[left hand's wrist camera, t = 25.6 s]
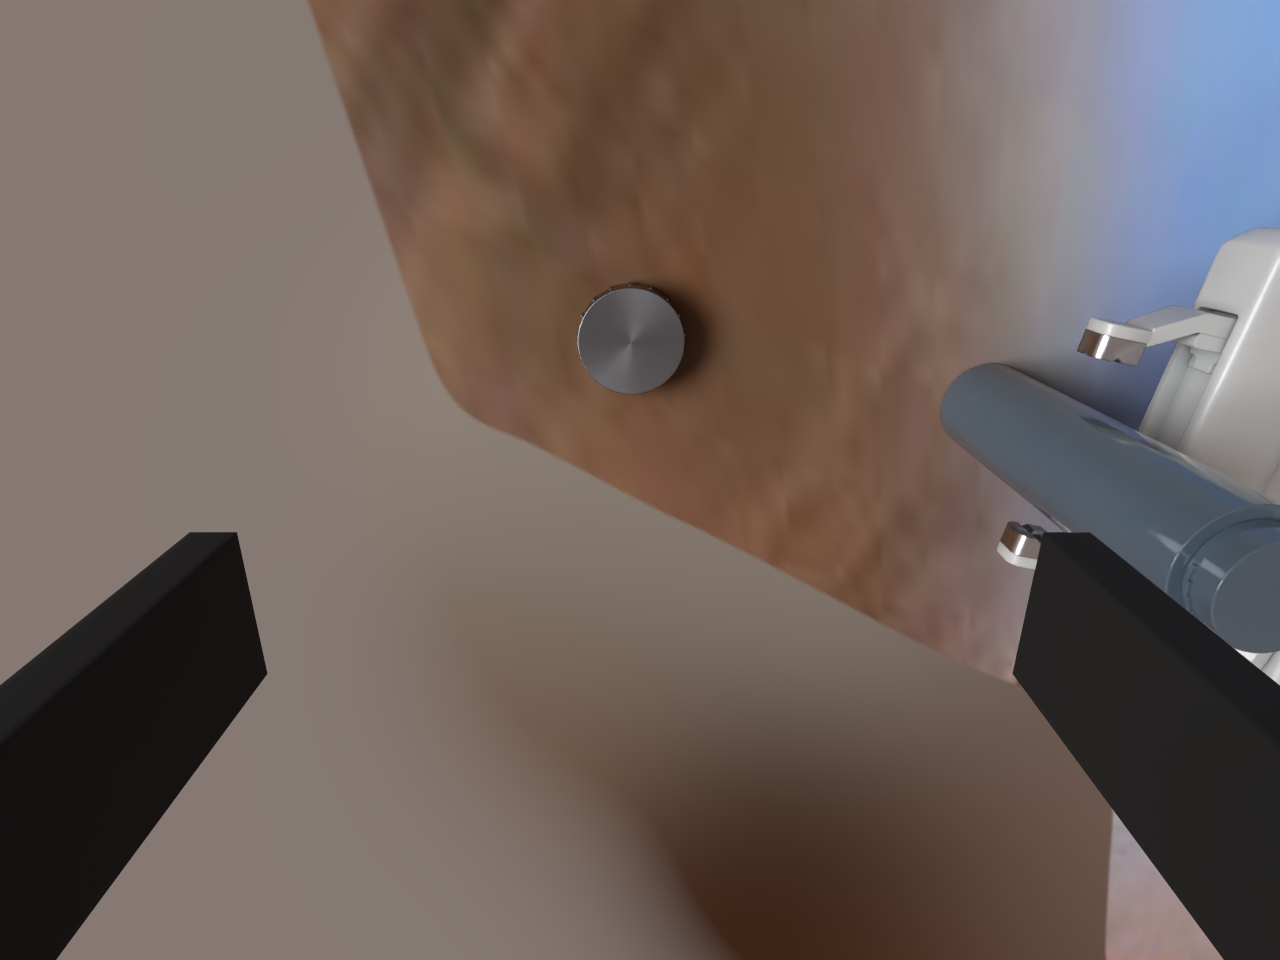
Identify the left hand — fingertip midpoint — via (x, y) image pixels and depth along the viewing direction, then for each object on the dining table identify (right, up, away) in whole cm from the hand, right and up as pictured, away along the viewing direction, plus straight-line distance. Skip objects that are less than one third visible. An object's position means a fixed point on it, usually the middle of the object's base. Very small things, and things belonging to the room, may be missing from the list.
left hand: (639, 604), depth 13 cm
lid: (0, +9, +24) cm, 25 cm away
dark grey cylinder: (+18, +6, +26) cm, 32 cm away
